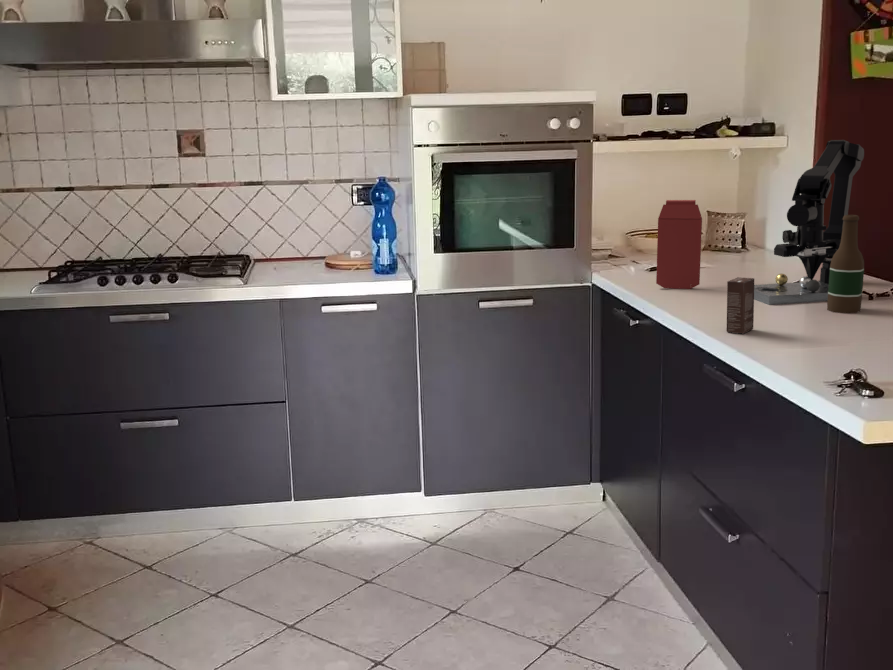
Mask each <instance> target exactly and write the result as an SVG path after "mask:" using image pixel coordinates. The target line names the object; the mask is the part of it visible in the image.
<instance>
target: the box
mask: <svg viewBox="0 0 893 670" xmlns="http://www.w3.org/2000/svg"><path fill="white" fill-rule="evenodd" d="M726 282H727V286H726V287H727V288H726V289H727V291H726V298H727V299H726V332H727V333H731V332H732V334H738V333H742V334H741V335H744V334H747V332H750V331H752V330H753V329H754V316H755V314H754V313H755V312H754V311H755V309H754V308H755V300H754V285H755V277H754V278H753V277H739V276H737V277H735V278H733V279H730V280H728V281H726Z"/></svg>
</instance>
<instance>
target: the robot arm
mask: <svg viewBox="0 0 893 670" xmlns="http://www.w3.org/2000/svg"><path fill="white" fill-rule="evenodd" d="M864 158H865V149H864V148H863V147H862V146H861V145H860V144H859V143H858V144H857V143H852V142H850V141H847V140H845V139H831V140H827V142H826V146H825V149H824V151H822V153H821V155H820V157H819V158H818V160H817V161H816V163H815V165H814V166H813V167H812V168H809V169H807V170H805V171H804V172H803V173H802V174H801V176H800V177H799V178H798V180H797V182H796V186H795V188H794V192H793V195H792V198H791V201H792V202H794V204H792V205H791V206H790V207H789V208H788V210H787V212H786V219H787V221H788V223H789V224H790V225H792V226H794V227H796V231H793V230H792V229H785V230H783V231H782V242H783V243H778V244H776V245H775V246H774V248H773V255H775V256H778V257H782V258H791V257H798V258H799V260H800V261H801V263H802V265H803V268H804V269H805V272H806V276H807V277H809V278H810V279H811V280H814V278H815V276H816V274H817V272H818V270H819V269H820V276H819V280H818V281H819V282H822V283H825V284H829V274H830V264H831V260H832V258H833V255H834V254H835V252H836V251H837V250H838V249H839V246H840V243H841V236H842V229H843V222H844V221H843V220H842V219H843V216H845V215H849V209H850V208H849V207H850V199H851V192H852V185H853V178H854V176H855V175H856V173H858V171H859V170H860V168H861V165H862V162H863V160H864ZM832 174H834V180H833V188H832V182H831V177H832ZM831 189H833V190H832V196H831V203H830V211H829V219H828V224H827V225H828V226H827V225H824V223H825V222H824V221H825V220H824V218H825V215H824V214H825V203H826V199H827V198H828V196H829V193H830V191H831ZM821 265H822V267H821V268H820V266H821Z"/></svg>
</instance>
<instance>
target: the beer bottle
mask: <svg viewBox="0 0 893 670" xmlns="http://www.w3.org/2000/svg"><path fill="white" fill-rule="evenodd" d="M842 220H843V221H844V222H843V229H842V236H841V243H840V246H839V249H838V250H837V251H836V252H835V254H834V255H833V258H831V259H832V260H831V264H830V274H829V287H828V301H826V303H827V306H826V307H827V308H826V309H827V311H829V312H831V313H836V314H838V313H839V314H857V313H859V312H860V311H861V308H862V300H863V299H862V297H863V289H864V288H863V287H864V286H863V285H864V275H865V260H864V256H863V253H862V252H861V251H860V249H859V244H858V243H859V242H858V241H859V240H858V236H859V235H858V231H859V230H858V229H859V228H858V227H859V222H858V221H860V216H859V215H857V214H848V215H845V216H843V219H842Z"/></svg>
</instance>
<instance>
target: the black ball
mask: <svg viewBox="0 0 893 670" xmlns="http://www.w3.org/2000/svg"><path fill="white" fill-rule="evenodd" d="M818 281H819V280H816V279H813V280H810V281H809V282H808V283H807V289H808V290H809V291H811V292H815V291H817V290H818V289H819V287H820V284H819V282H818Z"/></svg>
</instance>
